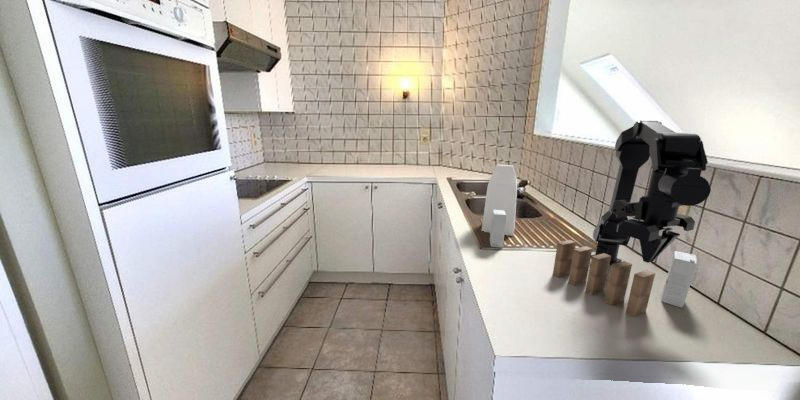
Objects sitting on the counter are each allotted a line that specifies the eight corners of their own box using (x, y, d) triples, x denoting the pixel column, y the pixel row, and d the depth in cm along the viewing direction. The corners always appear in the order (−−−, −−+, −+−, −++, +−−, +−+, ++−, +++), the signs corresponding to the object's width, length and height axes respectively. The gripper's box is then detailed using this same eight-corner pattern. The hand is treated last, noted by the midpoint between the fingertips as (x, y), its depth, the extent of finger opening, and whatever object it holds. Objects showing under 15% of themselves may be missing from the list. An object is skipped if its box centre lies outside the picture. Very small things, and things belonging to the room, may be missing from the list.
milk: (481, 231, 125) (487, 166, 118) (485, 222, 135) (490, 162, 129) (513, 236, 121) (521, 168, 114) (514, 226, 131) (521, 164, 124)
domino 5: (637, 307, 76) (646, 269, 74) (645, 311, 75) (655, 272, 72) (625, 312, 74) (634, 273, 71) (633, 316, 72) (643, 277, 70)
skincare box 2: (661, 292, 83) (672, 249, 80) (684, 298, 80) (696, 254, 77) (660, 302, 78) (672, 257, 75) (684, 309, 76) (697, 263, 73)
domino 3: (597, 287, 85) (604, 253, 82) (604, 290, 83) (611, 255, 81) (585, 291, 83) (591, 256, 80) (591, 294, 81) (598, 259, 79)
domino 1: (564, 271, 94) (569, 239, 91) (569, 273, 92) (575, 241, 89) (552, 274, 91) (557, 242, 89) (558, 277, 90) (563, 244, 87)
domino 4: (616, 296, 80) (624, 260, 78) (623, 300, 79) (632, 264, 76) (604, 301, 78) (611, 264, 76) (611, 305, 77) (619, 267, 74)
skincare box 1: (503, 248, 109) (506, 215, 106) (490, 246, 110) (493, 214, 107) (501, 241, 115) (504, 210, 112) (489, 240, 116) (492, 209, 113)
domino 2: (580, 278, 89) (586, 246, 87) (586, 281, 88) (592, 248, 85) (568, 282, 87) (573, 249, 84) (574, 285, 85) (580, 251, 83)
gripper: (646, 183, 78) (633, 242, 82) (598, 189, 70) (586, 254, 74) (704, 193, 68) (686, 259, 72) (655, 201, 60) (638, 275, 64)
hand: (647, 261), depth 71 cm, fingers closed
